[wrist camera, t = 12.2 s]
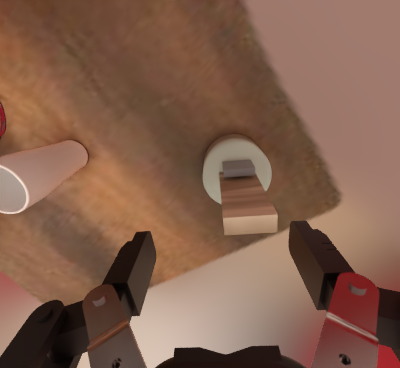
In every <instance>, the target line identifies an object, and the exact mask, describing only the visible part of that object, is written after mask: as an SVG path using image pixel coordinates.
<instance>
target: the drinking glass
mask: <svg viewBox="0 0 400 368" xmlns="http://www.w3.org/2000/svg"><path fill="white" fill-rule="evenodd" d="M87 161H88V154H87V151H86V149H85V148H84V147H83V146H82V145H81V144H80V143H78V142H76V141H73V140H65V141H62V142H59V143H55V144H50V145H46V146H41V147H37V148H32V149H27V150H23V151H18V152H14V153H10V154H7V155H3V156H0V212H2V213H6V214H15V213H19V212H22V211H23V210H25V209H27V208H28V207H30V206H32V205H34V204H35V203H37V202H38V201H40V200H41V199H43V198H44V197H46V196H47V195H48V194H50V193H51V192H52V191H54V190H55V189H56V188H57V187H58V186H60V185H61V184H62V183H63V182H64V181H66V180H67V179H68V178H69V177H71V176H72V175H73V174H74V173H76V172H77V171H78V170H80V169H81V168H83V167H84V166H85V165H86V164H87Z"/></svg>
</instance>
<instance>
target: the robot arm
mask: <svg viewBox="0 0 400 368" xmlns="http://www.w3.org/2000/svg"><path fill="white" fill-rule="evenodd" d="M289 251H290V254H291V256H292V258H293V260H294V262H295V264H296V267H297V269H298V271H299V273H300V275H301V277H302V279H303V281H304V284H305V286H306V288H307V290H308V292H309V294H310V296H311V298H312V300H313V302H314V305H315V307H316V309H317V310H326V311H327V314H326V318H325V320H324V324H323V327H322V331H321V334H320V338H319V341H318V344H317V348H316V351H315V355H314V358H313V362H312V365H311V368H377V358H378V344H381V345H385V346H388V347H391V348H392V350H393V351H394V353H395V355H396V356H397V358H398V359H399V361H400V292H397V291H392V290H387V289H382V288H379V287H377V286H376V285H375V284H374V283H373V282H372V281H371V280H369V279H368V278H366V277H364V276H362V275H360V274H357V273H355V272H354V271H353V269H352V268H351V267H350V266H349V264H348V263H347V261H346V260H345V259H344V257H343V256H342V255H341V254H340V252H339V251H338V250H337V248H336V247H335V246H334V245H333V244H332V242H331V241H330V239H329V238H328V237H327V235H325V234H324V233H322V232H321V231H319V230H318V229H314V230H313V229H312V228H311V227H310V225H309V224H308V222H307V221H292V222H291V223H290V232H289ZM155 262H156V250H155V246H154V242H153V239H152V235H151V232H150V231H144V232H136V234H135V236H134V238H133V240H132V241H128V242H127V243H126V244H125V245H124V246H123V247H122V248H121V249H120V251H119V253H118V255H117V257H116V259H115V260H114V263H113V264H112V266H111V268H110V270H109V272H108V274H107V276H106V277H105V279H104V281H103V283H102V285H100V286H98V287H96V288H94V289H93V290H91V291H90V292H89V293H88V294H87V295H86V297H85V299H84V300H82V301H80V302H77V303H74V304H71V305H68V306H64V305H63V303H62V302H61V301H59V300H52V301H49V302H46V303H44V304H43V305H41V306H39V307H38V308H37V309H36V310H35V311H33V313H32V314H31V315H30V316H29V318H28V319H27V320H26V322H25V323H24V324H23V326H22V327H21V329H20V330H19V331H18V333H17V334H16V336H15V337H14V338H13V340H12V341H11V343H10V344H9V346H8V347H7V348H6V350H5V351H4V353H3V354H2V355H1V357H0V368H77V365H78V363H79V360H80V358H81V356H82V353H85V352H87V351H88V356H89V361H90V367H91V368H147V367H146V365H145V362H144V359H143V357H142V354H141V352H140V349H139V347H138V344H137V342H136V339H135V337H134V334H133V332H132V329H131V327H130V324H129V323H130V320H131V317H132V316H140V313H141V309H142V306H143V303H144V299H145V296H146V293H147V289H148V286H149V282H150V279H151V276H152V272H153V269H154V266H155ZM156 368H306V367H305V366H303V365H302V364H300V363H298V362H297V361H295V360H293V359H291V358H289V357H286V356H283V355H281V354H280V350H279V347H278V346H251V347H248V348H245V349H242V350H240V351H236V352H233V353H231V354H226V355H225V354H221V353H217V352H214V351H210V350H207V349H203V348H200V347H197V348H175V350H174V357H173V358H170V359H168V360H166V361H164V362H162V363H161V364H159V365H158V366H157V367H156Z"/></svg>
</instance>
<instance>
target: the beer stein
mask: <svg viewBox="0 0 400 368" xmlns="http://www.w3.org/2000/svg"><path fill="white" fill-rule="evenodd" d="M5 122H6V121H5V115H4V112H3V108H2V105H1V104H0V137H1V135H3V133H4V132H5Z"/></svg>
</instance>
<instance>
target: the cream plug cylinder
mask: <svg viewBox="0 0 400 368" xmlns="http://www.w3.org/2000/svg"><path fill="white" fill-rule="evenodd" d="M219 172H223V175H224V177H237V176H250V175H255V173H256V175H257V177H258V178H259V180H260V182H261V184H262V186H263V188H264V190H265V192H266V191H267V189H268V187H269V185H270V182H271V177H272V170H271V166H270V163H269V161H268V159H267V157H266V156H265V155H264V153H263V152H262V151H261V150H260V149H259V147H258V146H257V145H256V144H255V143H254V142H253V141H252V140H251V139H250V138H248V137H246V136H244V135H240V134H228V135H224V136H222V137H219V138H218V139H216V140H215V141H214V142H213V143H212V144H211V145H210V146H209V148H208V149H207V151H206V154H205V157H204V167H203V184H204V187H205V189H206V191H207V193H208V194H209V196H210V197H211V198H212V199H214V200H215V201H216V202H218V203H220V204H222V203H221V192H220V181H219Z"/></svg>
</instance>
